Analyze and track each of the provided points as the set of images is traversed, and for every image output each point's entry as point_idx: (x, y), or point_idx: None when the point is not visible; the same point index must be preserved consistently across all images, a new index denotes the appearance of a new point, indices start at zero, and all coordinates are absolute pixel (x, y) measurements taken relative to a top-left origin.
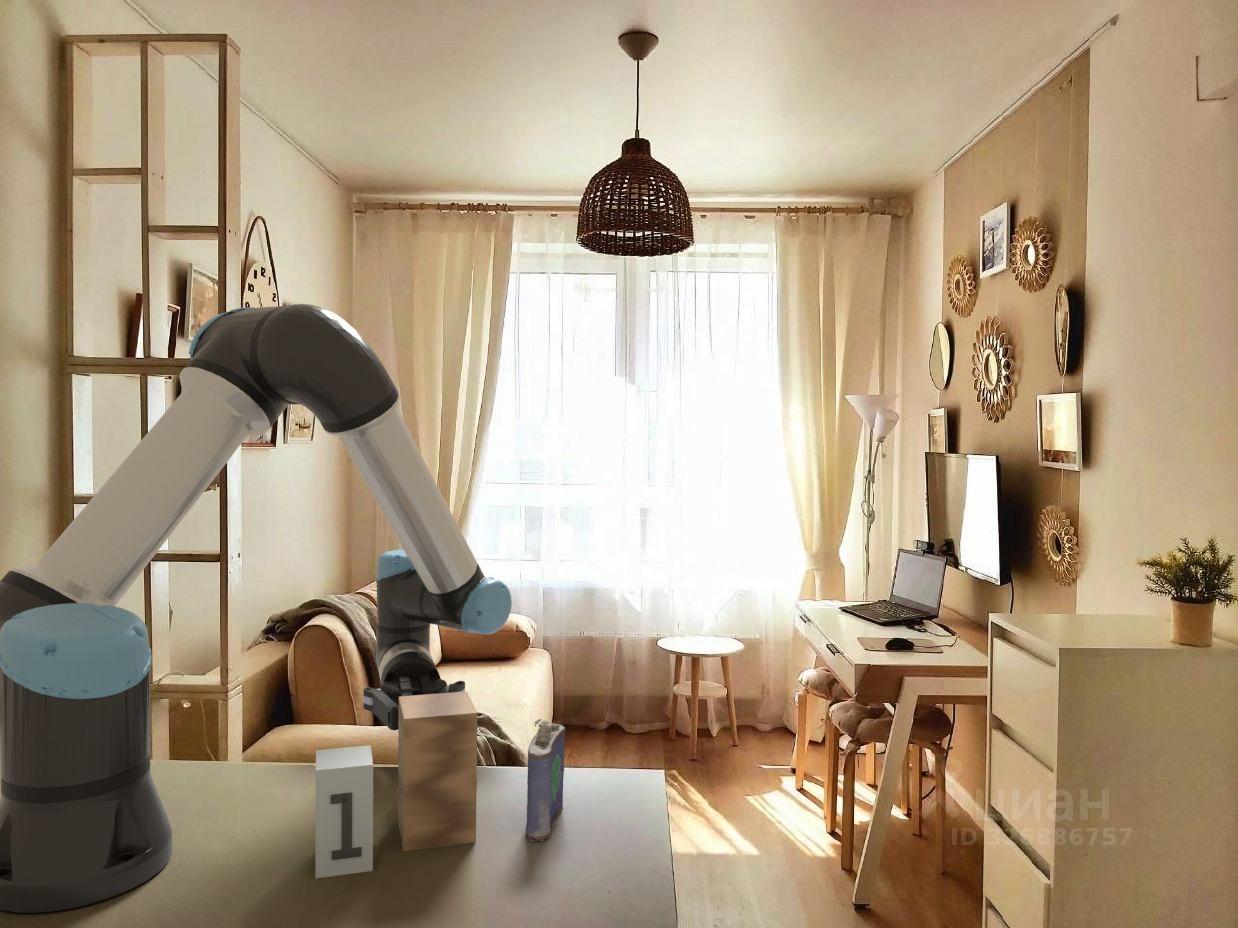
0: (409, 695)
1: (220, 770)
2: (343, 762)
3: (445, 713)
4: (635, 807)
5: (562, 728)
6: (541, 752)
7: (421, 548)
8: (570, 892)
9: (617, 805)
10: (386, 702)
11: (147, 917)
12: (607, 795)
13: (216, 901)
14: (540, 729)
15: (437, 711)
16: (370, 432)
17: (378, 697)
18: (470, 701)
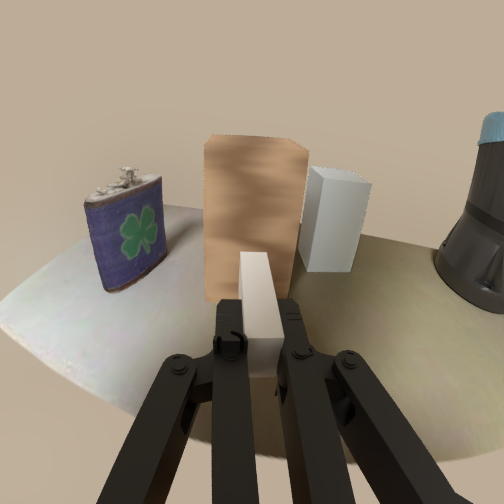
0: (321, 482)
1: None
2: (336, 171)
3: (246, 136)
4: (57, 268)
5: (94, 193)
6: (151, 174)
7: None
8: (172, 216)
9: (64, 274)
10: (389, 410)
11: (408, 243)
12: (55, 289)
13: (384, 245)
14: (133, 173)
15: (255, 137)
16: None
17: (426, 452)
18: (210, 139)
